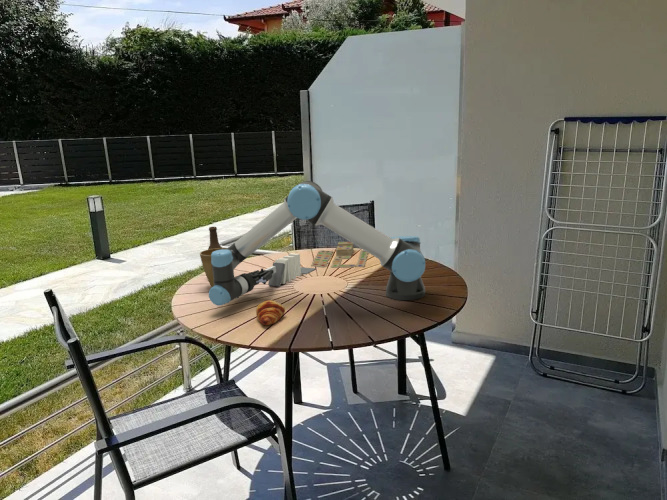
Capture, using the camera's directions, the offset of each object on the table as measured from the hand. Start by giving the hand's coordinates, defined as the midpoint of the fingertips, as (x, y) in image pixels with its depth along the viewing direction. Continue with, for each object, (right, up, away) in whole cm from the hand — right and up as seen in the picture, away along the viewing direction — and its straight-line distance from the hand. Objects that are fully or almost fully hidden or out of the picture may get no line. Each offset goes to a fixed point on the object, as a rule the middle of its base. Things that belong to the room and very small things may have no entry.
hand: (274, 269), depth 219 cm
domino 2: (+2, -6, +4) cm, 8 cm away
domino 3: (+4, -5, +8) cm, 10 cm away
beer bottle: (-28, -5, +17) cm, 33 cm away
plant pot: (-23, -8, +3) cm, 25 cm away
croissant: (+3, -16, -36) cm, 40 cm away
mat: (+11, -2, +22) cm, 25 cm away
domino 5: (+8, -3, +16) cm, 18 cm away
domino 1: (0, -7, 0) cm, 7 cm away
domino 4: (+6, -4, +12) cm, 14 cm away
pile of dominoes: (+29, +3, +42) cm, 51 cm away
